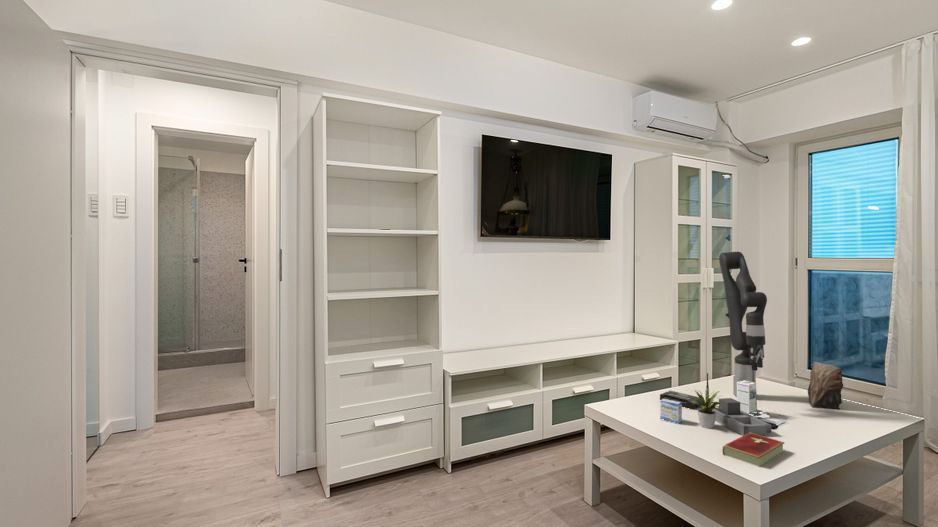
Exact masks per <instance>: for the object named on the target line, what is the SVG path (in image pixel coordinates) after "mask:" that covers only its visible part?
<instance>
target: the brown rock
mask: <svg viewBox="0 0 938 527" xmlns="http://www.w3.org/2000/svg"><path fill="white" fill-rule="evenodd" d="M842 371H843V368H842V367H839V366H837V365H836V364H827V363H823V362H822V363H821V362H819V361H813V362H812V367H811V371H810V372H809V373H810V382H809V384H808V388H807V396H808V401H809V404H810V407H811V408H814V409H824V410H825V409H827V410H841V408H840V405H841V404H842V403H843V400H842V399H843V398H842V390H843V388H844V383H843V375H842Z"/></svg>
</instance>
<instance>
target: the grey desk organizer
mask: <svg viewBox="0 0 938 527" xmlns="http://www.w3.org/2000/svg"><path fill="white" fill-rule="evenodd" d="M718 402H719V403H721V404H718V406H719V407H721V408H722V410H721V409H720V408H718V407H717V408H718V410H717V409H713V411H715V412H716V418H715V422H717V423H719V424H720V423H721V424H720V425H721V426H725V427H726V428H728V429H730V430H731V431H733V432H735V433H737V434H739V435H740V436H741V437H742V436H744V435H746V434H748V433H750V432H751V433H754V434H757V435H761V436H772V424H770V423H768V422H766V421H764V420H763V419H761V418H756V417H753V416H751V415H749V414H747V413H745V412H743V411H741V410H740V402H739V401H737V399H734V398H732V397H729V398H728V397H726V398H722V397H721V398H718Z"/></svg>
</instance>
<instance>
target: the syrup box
mask: <svg viewBox="0 0 938 527" xmlns="http://www.w3.org/2000/svg"><path fill="white" fill-rule="evenodd" d="M757 398H758V397H757V382H756V383H754V382H751V381H745V380H744V381H740V382H737V397H736V401H739V402H740V410H741V411H743V412H745V413H750V412H756V411H757V410H758V406H757V404H758V403H757V401H758V400H757Z"/></svg>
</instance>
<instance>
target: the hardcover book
mask: <svg viewBox="0 0 938 527" xmlns="http://www.w3.org/2000/svg"><path fill="white" fill-rule="evenodd" d="M784 445H785V442H784V441H781V440H777V439H774V438H771V437H768V436H765V435H757V434H754V433H751V432H750V433H748V434H746V435H744V436H742V435H741V436H740V437H738V438H736V439H734V440H732V441H730V442H728V443H726V444H724V445H723V446H722V456H725V457H729V458H732V459H735V460H738V461H740V462H743V463H747V464H750V465H753V466H755V467H760V466H762V465H763V464H765V463H766V462H768V461H770V460H772V459H773V458H774V457H776V456H778V455H779V454H782V453H783V452H784V448H783V446H784Z"/></svg>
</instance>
